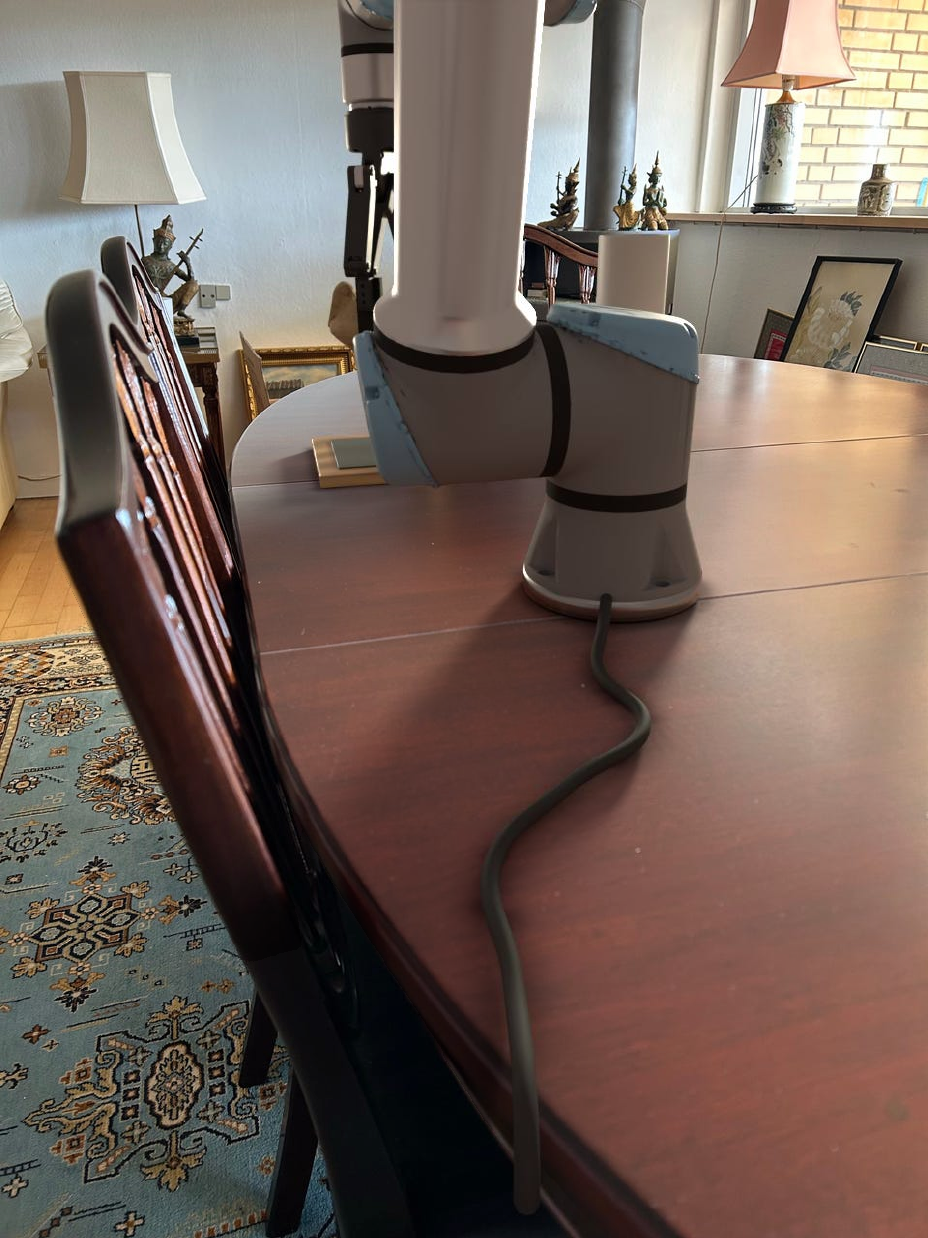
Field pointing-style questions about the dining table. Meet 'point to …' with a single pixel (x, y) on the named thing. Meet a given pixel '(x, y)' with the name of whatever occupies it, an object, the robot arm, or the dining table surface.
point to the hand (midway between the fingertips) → (392, 334)
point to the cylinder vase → (633, 271)
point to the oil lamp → (344, 314)
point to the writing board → (345, 461)
